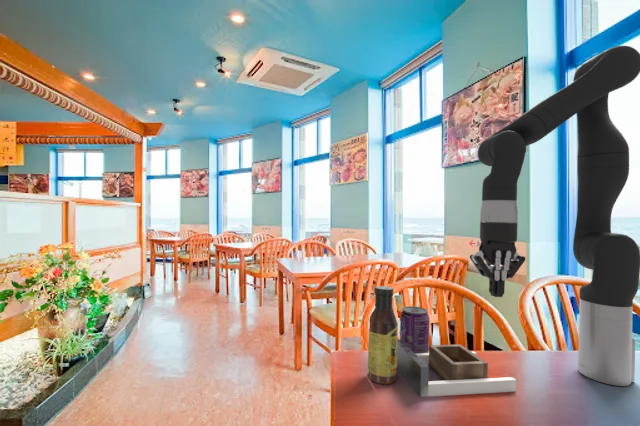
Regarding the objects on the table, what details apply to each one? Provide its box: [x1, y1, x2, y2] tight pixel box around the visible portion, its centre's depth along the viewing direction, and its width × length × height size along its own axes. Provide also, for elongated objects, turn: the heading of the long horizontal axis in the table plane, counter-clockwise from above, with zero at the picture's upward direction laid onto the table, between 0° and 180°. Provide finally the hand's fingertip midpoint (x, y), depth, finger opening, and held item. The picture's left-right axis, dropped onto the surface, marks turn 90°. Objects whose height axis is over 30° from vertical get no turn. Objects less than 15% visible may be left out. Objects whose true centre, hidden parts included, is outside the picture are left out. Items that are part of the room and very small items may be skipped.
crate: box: [428, 344, 489, 381], centre depth 72 cm, size 8×10×5 cm
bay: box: [397, 338, 517, 398], centre depth 72 cm, size 21×14×6 cm
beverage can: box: [399, 305, 430, 353], centre depth 83 cm, size 7×7×12 cm
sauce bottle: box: [367, 285, 399, 385], centre depth 71 cm, size 7×6×20 cm
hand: (496, 296), depth 74 cm, fingers closed
